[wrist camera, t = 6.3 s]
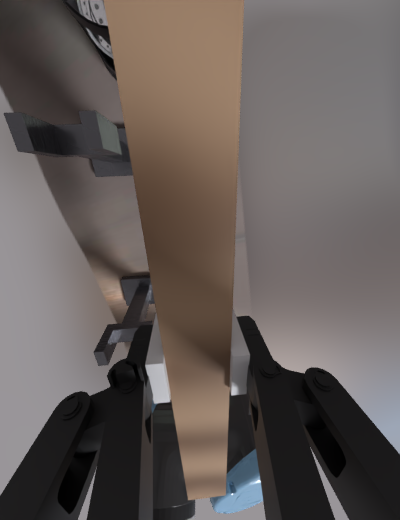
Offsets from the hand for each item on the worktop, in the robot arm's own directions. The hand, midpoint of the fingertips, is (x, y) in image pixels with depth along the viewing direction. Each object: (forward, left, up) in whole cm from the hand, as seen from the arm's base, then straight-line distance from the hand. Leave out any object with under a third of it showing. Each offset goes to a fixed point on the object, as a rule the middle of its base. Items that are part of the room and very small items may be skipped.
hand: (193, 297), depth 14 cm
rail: (0, 0, +3) cm, 3 cm away
